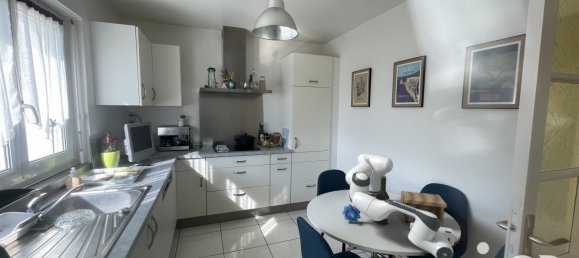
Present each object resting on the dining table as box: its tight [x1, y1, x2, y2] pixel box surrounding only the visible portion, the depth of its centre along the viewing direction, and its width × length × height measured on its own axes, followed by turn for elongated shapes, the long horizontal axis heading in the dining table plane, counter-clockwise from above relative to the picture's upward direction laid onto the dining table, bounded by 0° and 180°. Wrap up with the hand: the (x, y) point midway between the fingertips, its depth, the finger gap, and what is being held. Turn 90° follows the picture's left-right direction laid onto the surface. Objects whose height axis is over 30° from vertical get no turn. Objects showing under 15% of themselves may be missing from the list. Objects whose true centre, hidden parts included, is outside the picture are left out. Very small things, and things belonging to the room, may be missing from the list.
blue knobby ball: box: [342, 203, 361, 224], centre depth 146 cm, size 12×7×12 cm, turn 93°
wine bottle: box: [374, 175, 390, 226], centre depth 148 cm, size 8×8×30 cm
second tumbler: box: [405, 203, 415, 223], centre depth 152 cm, size 6×6×11 cm
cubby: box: [399, 190, 448, 227], centre depth 147 cm, size 22×16×17 cm
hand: (427, 224), depth 132 cm, fingers closed on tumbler, 6 cm apart
